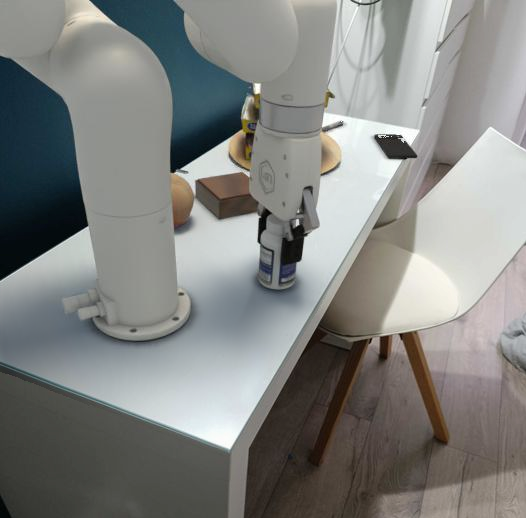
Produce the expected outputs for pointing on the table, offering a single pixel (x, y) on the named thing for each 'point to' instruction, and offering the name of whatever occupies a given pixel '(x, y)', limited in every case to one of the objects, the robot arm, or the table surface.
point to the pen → (331, 126)
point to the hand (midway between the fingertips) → (279, 250)
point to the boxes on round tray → (250, 115)
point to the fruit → (181, 199)
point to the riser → (226, 194)
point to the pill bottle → (274, 256)
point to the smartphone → (395, 146)
